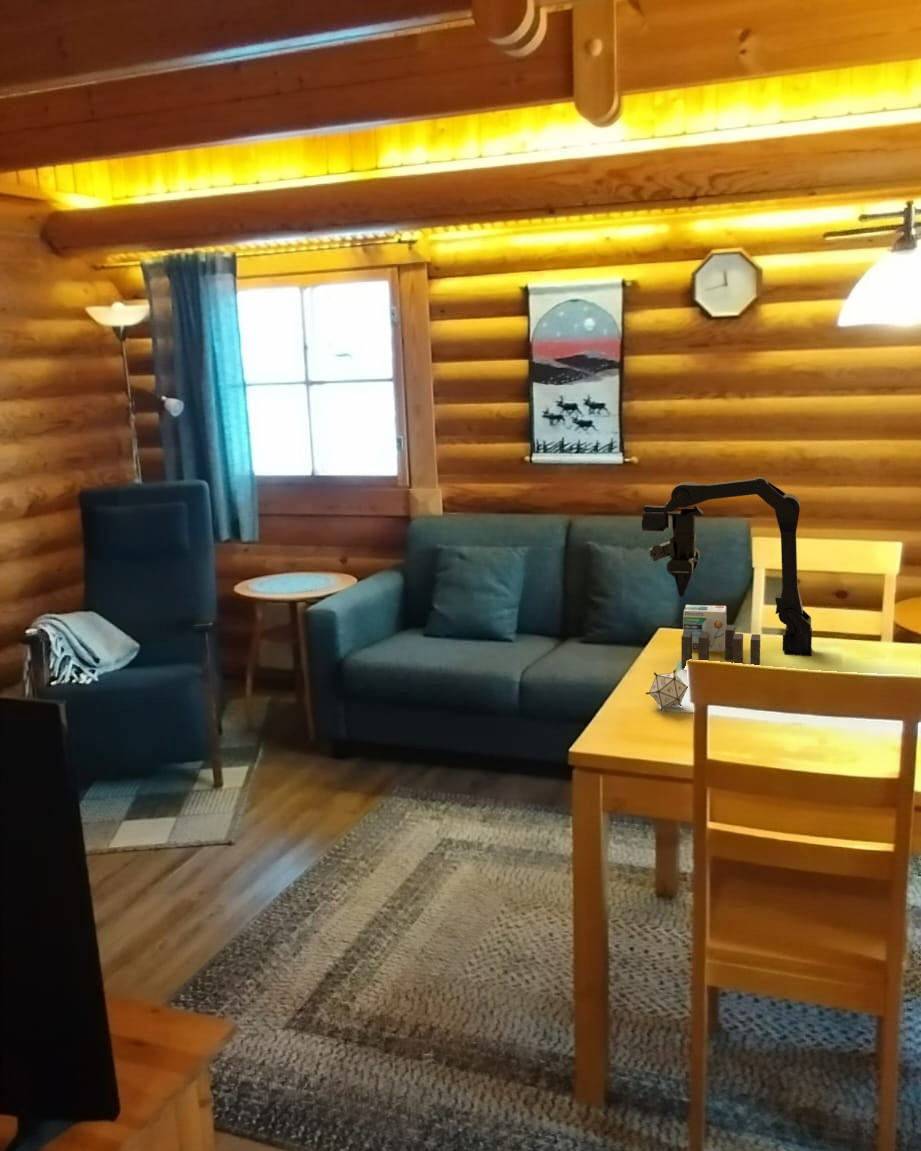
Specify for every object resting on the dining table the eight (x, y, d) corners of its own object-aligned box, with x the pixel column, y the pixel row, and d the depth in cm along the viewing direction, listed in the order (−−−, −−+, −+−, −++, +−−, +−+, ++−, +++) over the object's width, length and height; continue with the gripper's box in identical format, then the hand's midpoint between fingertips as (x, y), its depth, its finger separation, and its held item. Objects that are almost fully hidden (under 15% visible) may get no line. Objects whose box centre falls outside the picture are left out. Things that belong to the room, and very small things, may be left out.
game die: (675, 725, 220) (690, 699, 213) (638, 711, 221) (652, 684, 214) (683, 695, 226) (698, 668, 219) (647, 681, 227) (660, 654, 220)
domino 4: (742, 665, 247) (743, 633, 245) (741, 671, 242) (741, 639, 240) (734, 665, 247) (734, 633, 246) (732, 671, 243) (733, 638, 241)
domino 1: (692, 662, 250) (692, 631, 249) (689, 669, 246) (689, 637, 244) (683, 662, 251) (684, 631, 249) (681, 668, 247) (681, 636, 245)
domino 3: (734, 655, 256) (735, 625, 254) (733, 661, 251) (733, 630, 250) (726, 655, 256) (726, 624, 255) (724, 661, 252) (725, 630, 250)
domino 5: (759, 666, 245) (760, 634, 244) (758, 672, 241) (759, 640, 239) (751, 666, 246) (751, 634, 244) (750, 672, 241) (750, 639, 240)
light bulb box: (682, 651, 262) (682, 610, 260) (684, 644, 268) (684, 604, 266) (725, 652, 259) (725, 611, 256) (726, 645, 265) (727, 605, 263)
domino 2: (708, 663, 249) (709, 632, 248) (706, 669, 245) (707, 637, 243) (700, 663, 250) (700, 631, 248) (698, 669, 245) (698, 637, 244)
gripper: (657, 526, 270) (657, 583, 273) (646, 538, 253) (646, 599, 256) (699, 526, 266) (699, 584, 270) (691, 539, 249) (691, 601, 252)
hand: (683, 592), depth 262 cm, fingers open, 9 cm apart
